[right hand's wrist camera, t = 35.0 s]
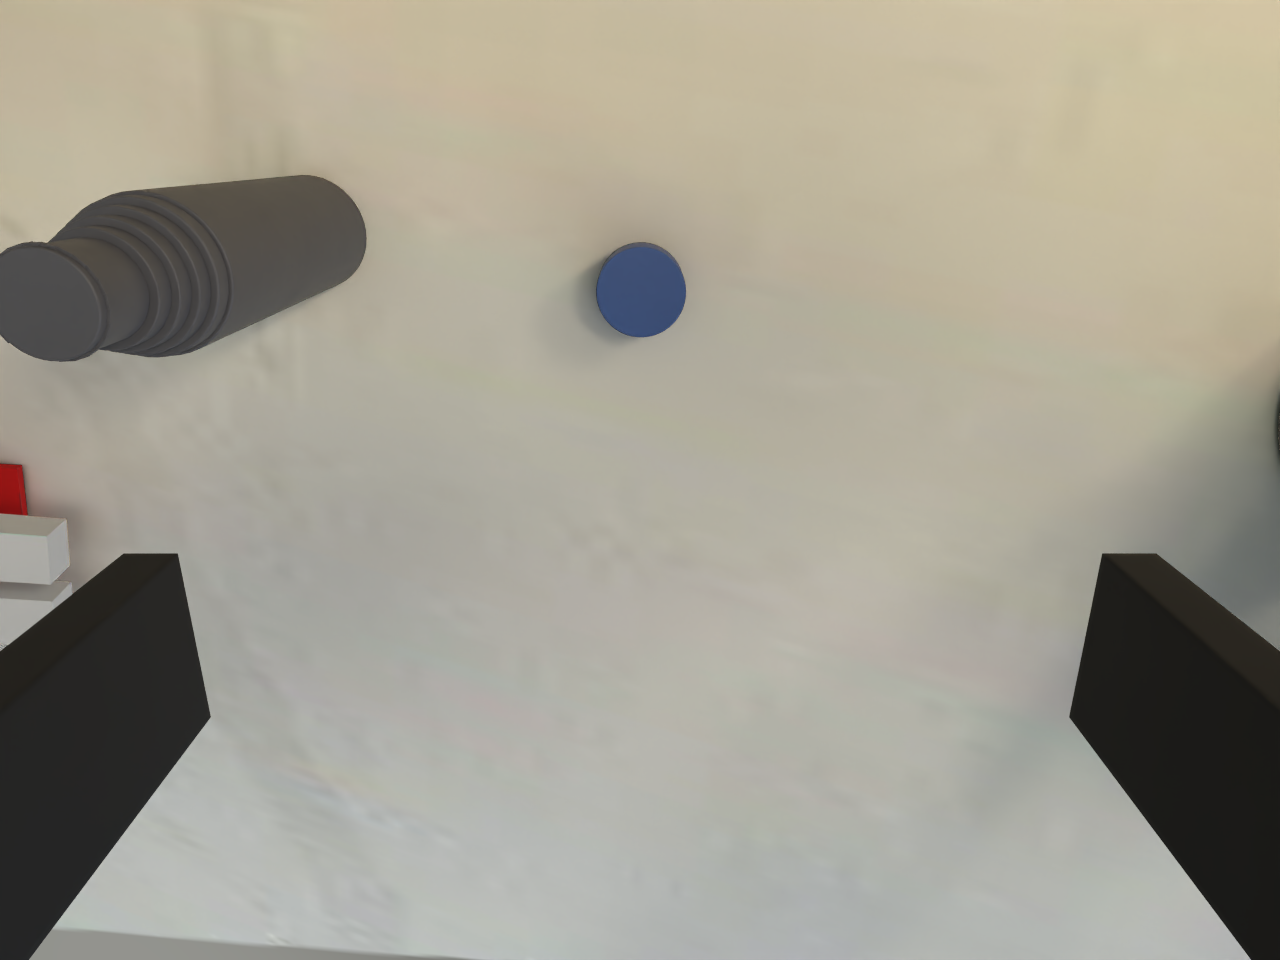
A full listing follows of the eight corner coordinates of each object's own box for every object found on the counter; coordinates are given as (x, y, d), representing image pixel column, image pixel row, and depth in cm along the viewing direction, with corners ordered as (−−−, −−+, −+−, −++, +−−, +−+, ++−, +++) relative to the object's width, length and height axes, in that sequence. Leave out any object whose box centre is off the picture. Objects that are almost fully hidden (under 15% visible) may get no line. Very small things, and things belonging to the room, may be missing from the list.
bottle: (319, 152, 42) (40, 159, 23) (388, 250, 44) (185, 336, 24) (233, 215, 43) (-105, 274, 24) (304, 308, 45) (43, 436, 25)
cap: (583, 265, 44) (580, 271, 42) (661, 227, 44) (662, 231, 42) (621, 342, 46) (620, 351, 44) (697, 306, 45) (700, 313, 43)
